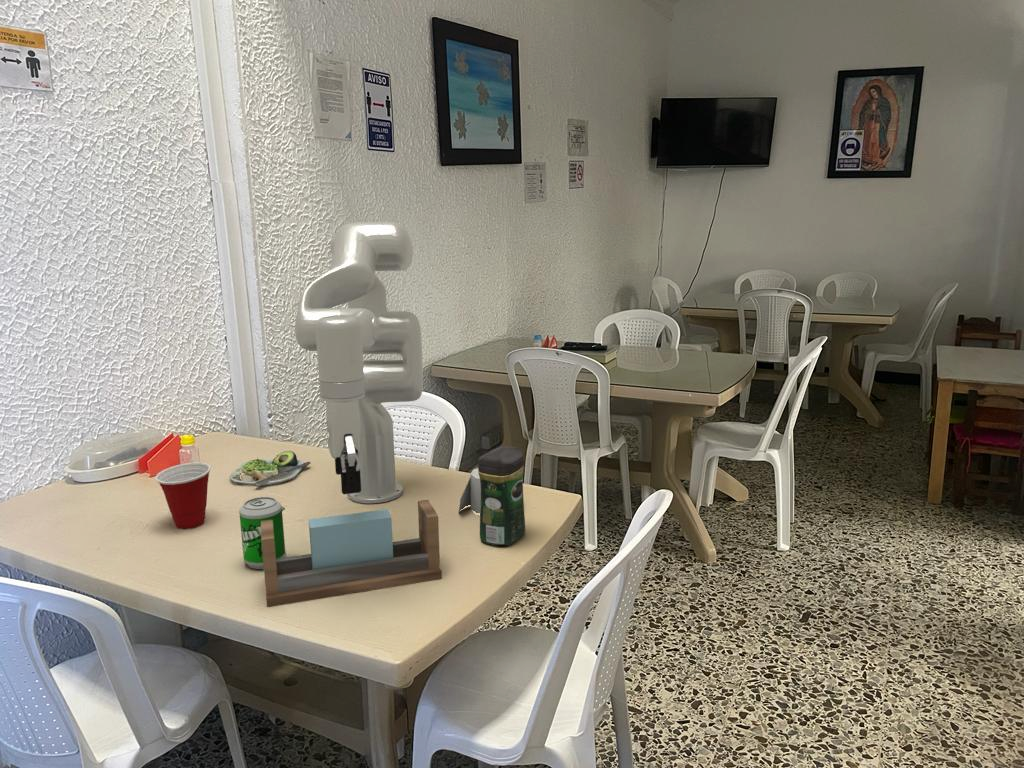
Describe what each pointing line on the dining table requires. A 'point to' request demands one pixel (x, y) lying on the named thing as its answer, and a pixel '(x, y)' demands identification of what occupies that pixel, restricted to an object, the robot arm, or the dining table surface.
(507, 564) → the dining table surface
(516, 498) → the coffee jar
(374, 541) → the door panel
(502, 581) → the dining table surface
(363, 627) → the dining table surface
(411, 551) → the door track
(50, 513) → the dining table surface
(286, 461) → the salad plate
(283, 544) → the soda can
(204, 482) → the plastic cup
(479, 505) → the toilet tissue
